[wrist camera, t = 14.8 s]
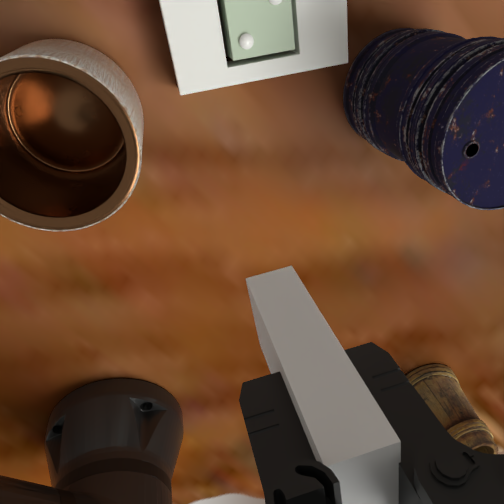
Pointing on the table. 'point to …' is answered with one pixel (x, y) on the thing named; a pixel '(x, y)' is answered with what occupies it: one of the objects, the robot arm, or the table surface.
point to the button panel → (255, 68)
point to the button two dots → (256, 27)
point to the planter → (66, 136)
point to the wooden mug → (452, 406)
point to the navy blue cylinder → (434, 109)
